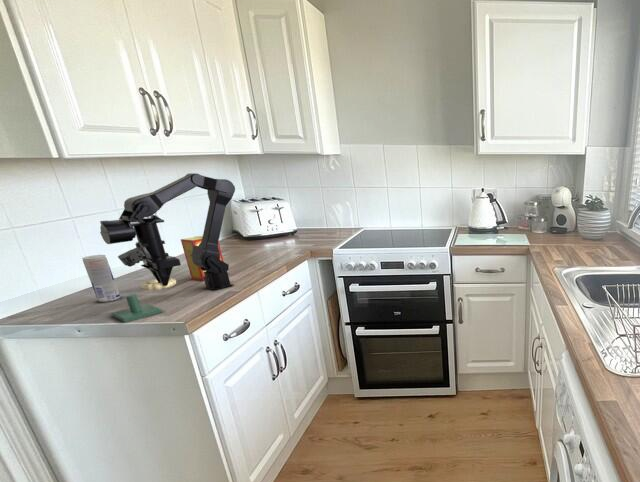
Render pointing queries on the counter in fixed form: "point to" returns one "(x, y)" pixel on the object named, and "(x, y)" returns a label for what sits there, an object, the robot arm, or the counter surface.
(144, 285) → the ring
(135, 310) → the stand
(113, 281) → the beverage can
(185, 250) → the baking soda box
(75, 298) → the counter surface
